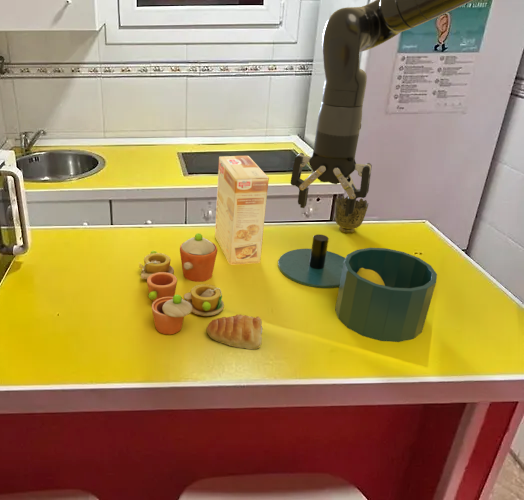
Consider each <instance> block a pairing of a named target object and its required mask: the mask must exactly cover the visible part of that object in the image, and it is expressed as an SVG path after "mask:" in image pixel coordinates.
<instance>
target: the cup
mask: <svg viewBox="0 0 524 500" xmlns="http://www.w3.org/2000/svg"><path fill="white" fill-rule="evenodd" d="M348 197H349V196H348V195H347V196H346V197H345V196H344V195H343V196H341V197H340V196H338V197H336V198H335V199H334V219H335V220H334V221H335V223H336V224H337V225H338V226H339V227H338V231H339V232H341V233H343V234H347V235H348V234H350V235H351V234H353V233H355V232H356V229H357V228H359V227H360V226H362V223H363V222H364V221H365V220H364V219H365V217H366V214H367V211H368V209H369V208H368V207H369V203H368V201H367V199H365V200H364V198H361V197H360V199H359V200H358V199H356V203H355V208H354V211H353V213H352V214H349V216H348V217H346V216H344V215H345V209H346V204H347V199H348Z"/></svg>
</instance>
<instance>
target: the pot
mask: <svg viewBox="0 0 524 500" xmlns="http://www.w3.org/2000/svg"><path fill="white" fill-rule="evenodd" d="M344 258H345V260H344V264H343V269H342V275H341V280H340V286H339V287H338V293H337V297H336V303H335V309H334V310H335V313H336V316H337V319H338V320H339V321H340V322H341V323H342V324H343V325H344V326H345V327H346V328H347V329H349V330H350V331H353V332H354V333H357V334H358V335H360V336H362V337H365V338H369V339H372V340H376V341H380V342H391V343H401V342H406V341H411V340H414V339H415V338H417V337H418V336H419V335H421V334H422V333H423V331H424V327H425V323H426V320H427V316H428V312H429V308H430V307H431V306H430V305H431V302H432V298H433V295H434V292H435V287H436V285H437V278H438V274H437V272H436V270H435V269H434V268H433V266H432V265H431V264H429V263H427V262H426V261H425V260H423V259H421V258H420V257H419V256H415V255H412V254H410V253H407V252H405V251H400V250H396V249H390V248H385V247H366V248H361V249H360V248H359V249H355V250H354V251H351V252H350V253H348V254H346V256H345V257H344ZM360 268H364V269H370V270H373V271H375V272H376V273H378V274H379V276H380V277H381V278H382V280H383V282H384V284H385V286H384V285H379V284H376V283H373V282H371V281H369V280H367V279H364V278H362V277H360V276H359V275H358V274H357V272H358V271H359V269H360Z"/></svg>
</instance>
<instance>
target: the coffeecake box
mask: <svg viewBox="0 0 524 500" xmlns="http://www.w3.org/2000/svg"><path fill="white" fill-rule="evenodd" d="M217 168H218V169H217V170H218V171H217V189H216V207H215V223H214V237H215V240H216V242H217V243H218V245H219V247H220V249H221V252H222V253H223V255H224V257H225V259H226V261H227V263H228V265H229V266H232V265H249V264H260V263H261V261H262V260H261V259H262V249H263V241H264V240H263V237H264V228H265V221H266V220H265V219H266V208H267V198H268V190H269V181H270V177H269V176H268V175H267V174H266V173H265V172H264V171H263V170H262V168H260V166H259V165H258V164H257V163H256V162H255V161H254V160H253V159H252V158H251V156H249V155H231V156H230V155H224V156H222V155H221V156H219V157H218V167H217Z"/></svg>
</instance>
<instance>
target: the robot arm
mask: <svg viewBox="0 0 524 500" xmlns="http://www.w3.org/2000/svg"><path fill="white" fill-rule="evenodd" d="M473 1H474V0H374V1H372V2H370V3H368V4H365V5H362V6H354V7H353V6H351V7H349V6H347V7H342V8H339V9H337V10H335V11H334V12H333V13H332V14H331V15H330V16H329V18H328V19H327V21H326V23H325V26H324V29H323V33H322V40H321V41H322V43H321V46H322V47H321V48H322V61H323V70H324V84H323V89H322V90H323V91H322V97H321V103H320V108H319V110H318V116H317V120H316V121H317V122H316V129H315V137H314V143H313V152H312V155H311V156H310V155H309V156H308V155H305V154H304V153H303V152H299V153H298V154H297V155H296V156H295V157H294V160H293V161H294V162H293V168H292V173H291V178H290V184H291V186H293V187H294V186H295V187H297V188H298V198H297V204H298V205H299V207H300V208H301V209H305V207H306V206H307V203H308V197H309V196H308V195H309V189H310V188H309V186H310V185H311V184H313V183H314V182H315V181H316V180H318V181H320V183H330V184H333V185H338V184H340V185H341V188H342V189H343V190H344V191H345V193H346V194H347V196H349V197H348V199H347V204H346V209H345V215H344V216H346V217H348V216H349V214H352V213H353V211H354V208H355V203H356V200H358V199H359V198H360V199H361V198H362V199H364V198H365V199H366V197H367V195H368V193H369V191H370V182H371V176H372V166H373V165H372V163H370V162H366V163H357V162H356V153H357V147H358V141H359V137H360V130H361V129H362V120H363V105H364V101H365V99H364V98H365V94H366V88H367V83H368V82H367V81H368V76H367V72H366V71H365V70H364V69H362V68H360V55H361V52H366V51H368V50H371V49H373V48H375V47H378V46H380V45H382V44H385V43H386V42H388V41H389V40H391V39H393V38H394V37H397V36H398V35H399V34H401V33H402V32H406V31H408V30H411V29H414V28H416V27H418V26H420V25H423V24H425V23H427V22H429V21H432V20H434V19H437V18H438V17H441V16H444V15H445V14H447V13H449V12H451V11H454V10H457V9H458V8H460V7H462V6H464V5H466V4H468V3H470V2H473ZM307 164H309V166H310V168H311V170H312V172H311V173H310V175H308V176H307V178H305V179H302V178H301V177H302V170H303V168H304V167H305V166H306V165H307ZM354 171H356V172H357V175H358V176H359V177H361V180H360V188H358V189H357V187H356V185H355V183H354V180H353V178H352V175H351V174H353V172H354Z"/></svg>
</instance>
